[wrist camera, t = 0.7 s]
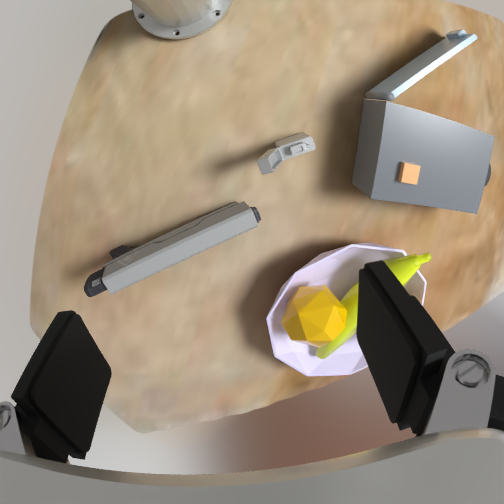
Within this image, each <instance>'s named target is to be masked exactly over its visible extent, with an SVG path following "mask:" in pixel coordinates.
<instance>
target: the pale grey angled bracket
mask: <svg viewBox="0 0 504 504" xmlns="http://www.w3.org/2000/svg"><path fill="white" fill-rule="evenodd" d="M275 145H276V148H273V149H270V150H268V151H266V152H265V153H264V154H263V155H262V156H261V157H260V158H259V159H258V160H257V163H258V166H259V168H260V171H261V174H262V175H263V174H268V173H272V172H274V171H275V170H276V169H277V168H278V166H279V165H280V164H281V163H282V162H283V159H284V160H286V159H289V158H292V157H295V156H298V155H301V154H304V153H307V152H310V151H313V150H315V148H316V147H315V144H314V141H313V138H312V137H311V136H309V135H307V134H305V133H303V132H302V133H299V134H296V135H293V136H290V137H287V138H284V139H281V140H278V141H275Z"/></svg>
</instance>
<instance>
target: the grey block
mask: <svg viewBox="0 0 504 504" xmlns="http://www.w3.org/2000/svg"><path fill="white" fill-rule="evenodd" d="M493 142H494V136H491V135H489V134H486V133H484V132H481V131H479V130H476V129H474V128H471V127H468V126H466V125H463V124H460V123H457V122H454V121H452V120H449V119H446V118H443V117H440V116H437V115H433V114H430V113H427V112H424V111H420V110H417V109H413V108H410V107H406V106H402V105H399V104H395V103H391V102H387V101H377V100H366V99H363V107H362V115H361V123H360V130H359V137H358V144H357V151H356V157H355V164H354V170H353V176H352V182H351V183H352V184H353V185H355V186H356V187H357V188H358V189H359V190H361V191H362V192H363V193H364V194H365V195H367V196H368V197H369V198H370V199H376V200H384V201H392V202H400V203H408V204H415V205H422V206H429V207H436V208H443V209H449V210H456V211H462V212H468V213H474V214H477V212H478V208H479V205H480V201H481V197H482V193H483V190H484V187H485V186H486V185H487V183H488V181H489V179H490V175H491V166H490V158H491V153H492V148H493Z"/></svg>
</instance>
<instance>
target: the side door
mask: <svg viewBox="0 0 504 504" xmlns="http://www.w3.org/2000/svg"><path fill="white" fill-rule="evenodd" d="M446 36H447V37H446V38H445V39H443V40H441V41H440V42H438V43H437V44H435V45H434V46H432V47H431V48H429V49H428V50H426V51H425V52H424V53H422V54H421V55H419V56H418V57H416V58H415V59H413V60H412V61H410V62H409V63H407V64H406V65H405V66H403V67H402V68H400V69H399V70H397V71H396V72H395V73H393V74H392V75H390V76H389V77H388V78H386V79H385V80H383V81H382V82H381V83H379V84H378V85H376V86H375V87H374V88H372V89H371V90H370V91H368V92H366V93H365V97H366V98H367V99H377V100H388V101H393V100H394V98H395V97H397V96H398V95H399V94H401V93H402V92H403V91H405V90H406V89H407V88H409V87H410V86H412V85H413V84H414V83H416V82H417V81H418V80H420V79H421V78H423V77H424V76H425V75H427V74H428V73H429V72H431V71H432V70H434V69H435V68H436V67H438V66H439V65H441V64H442V63H443V62H445V61H446V60H448V59H449V58H450V57H452V56H453V55H455V54H456V53H457V52H459V51H460V50H462V49H463V48H465V47H466V46H467V45H469V44H470V43H472V42H473V41H475V40H476V39H478V38H477V37H476V35H475V34H466V32H465V31H464V29H463V30H456V31H451V32H449V33H448V34H446Z"/></svg>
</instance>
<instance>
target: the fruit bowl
mask: <svg viewBox="0 0 504 504" xmlns="http://www.w3.org/2000/svg"><path fill="white" fill-rule="evenodd" d="M379 260H383V261H384V262H385V263H386V265H387V266H388V267H389V268H390V270H391V271H392V272H393V273H394V275H395V276H396V277H397V279H398V280H399V281H400V283H401V284H402V285H403V287H404V288H405V289H406V291H407V292H408V293H409V295H410V296H411V295H412V296H415V297H416V298H417V299H418V301H419V302H420V303H421V305H422V306H423V302H424V296H425V289H426V283H427V282H426V280H425V279H424V277H423V276H422V275H421V273H420V272H419V270H418V269H419V268H420V266H421V264H422V263H425V262H428V261H431V255H430V254H429V253H426V254H423V255H420V256H417V255H416V254H415V255H409V256H407V254H406V253H405V252H404V250H401V249H396V248H392V247H388V246H383V245H379V244H374V243H370V242H368V243H359V244H351V245H348V246H344V247H341V248H338V249H334V250H331V251H328V252H324V253H321V254H319V255H318V256H317V257H315V258H314V259H313V260H311V261H310V262H309V263H307V264H306V265H305V266H303V267H302V268H301V269H299V270H298V271H297V272H295V273H294V274H293V275H292V276H291V277H290V278H289V279H288V280H287V281H286V282H285V283H284V284H283V285H282V287H281V289H280V291H279V293H278V295H277V297H276V299H275V301H274V303H273V306H272V308H271V310H270V312H269V314H268V316H267V318H266V320H267V324H268V329H269V334H270V339H271V344H272V348H273V353H274V357H276V358H277V359H279V360H281V361H282V362H284V363H286V364H287V365H289V366H291V367H292V368H294V369H296V370H298V371H299V372H301V373H303V374H304V375H306V376H333V375H351V374H353V373H355V372H357V371H359V370H362V369H364V368H366V367H368V365H367V362H366V360H365V358H364V355H363V353H362V351H361V348H360V346H359V344H358V341H357V335H356V330H357V311H358V284H359V270H360V269H363V268H364V264H365V263H369V262H374V261H379Z"/></svg>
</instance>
